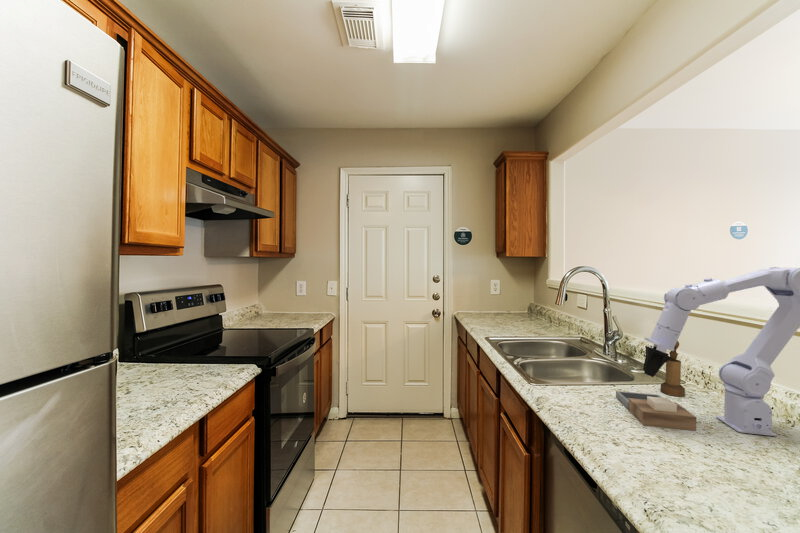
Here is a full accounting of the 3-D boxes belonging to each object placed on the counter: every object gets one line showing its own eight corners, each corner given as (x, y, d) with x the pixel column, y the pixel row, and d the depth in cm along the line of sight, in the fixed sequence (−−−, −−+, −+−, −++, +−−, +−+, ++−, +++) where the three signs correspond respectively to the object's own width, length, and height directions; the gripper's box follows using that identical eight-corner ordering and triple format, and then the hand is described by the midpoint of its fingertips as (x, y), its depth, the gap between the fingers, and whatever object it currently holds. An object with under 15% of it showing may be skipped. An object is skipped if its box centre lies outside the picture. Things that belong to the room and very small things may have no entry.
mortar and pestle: (689, 397, 115) (690, 342, 114) (666, 395, 116) (668, 341, 116) (677, 390, 121) (679, 338, 121) (656, 389, 122) (657, 336, 122)
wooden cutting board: (696, 430, 91) (696, 417, 91) (643, 425, 94) (643, 411, 94) (675, 414, 101) (676, 402, 101) (628, 410, 104) (628, 398, 104)
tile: (676, 412, 94) (676, 404, 94) (655, 410, 95) (655, 402, 95) (667, 405, 99) (667, 398, 99) (646, 403, 100) (647, 396, 100)
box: (675, 414, 101) (675, 407, 101) (627, 409, 104) (628, 402, 104) (658, 401, 111) (658, 394, 111) (615, 397, 114) (616, 390, 114)
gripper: (649, 323, 106) (631, 364, 107) (653, 322, 94) (632, 369, 95) (677, 333, 102) (658, 376, 103) (685, 334, 90) (662, 382, 91)
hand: (647, 373), depth 99 cm, fingers open, 7 cm apart
